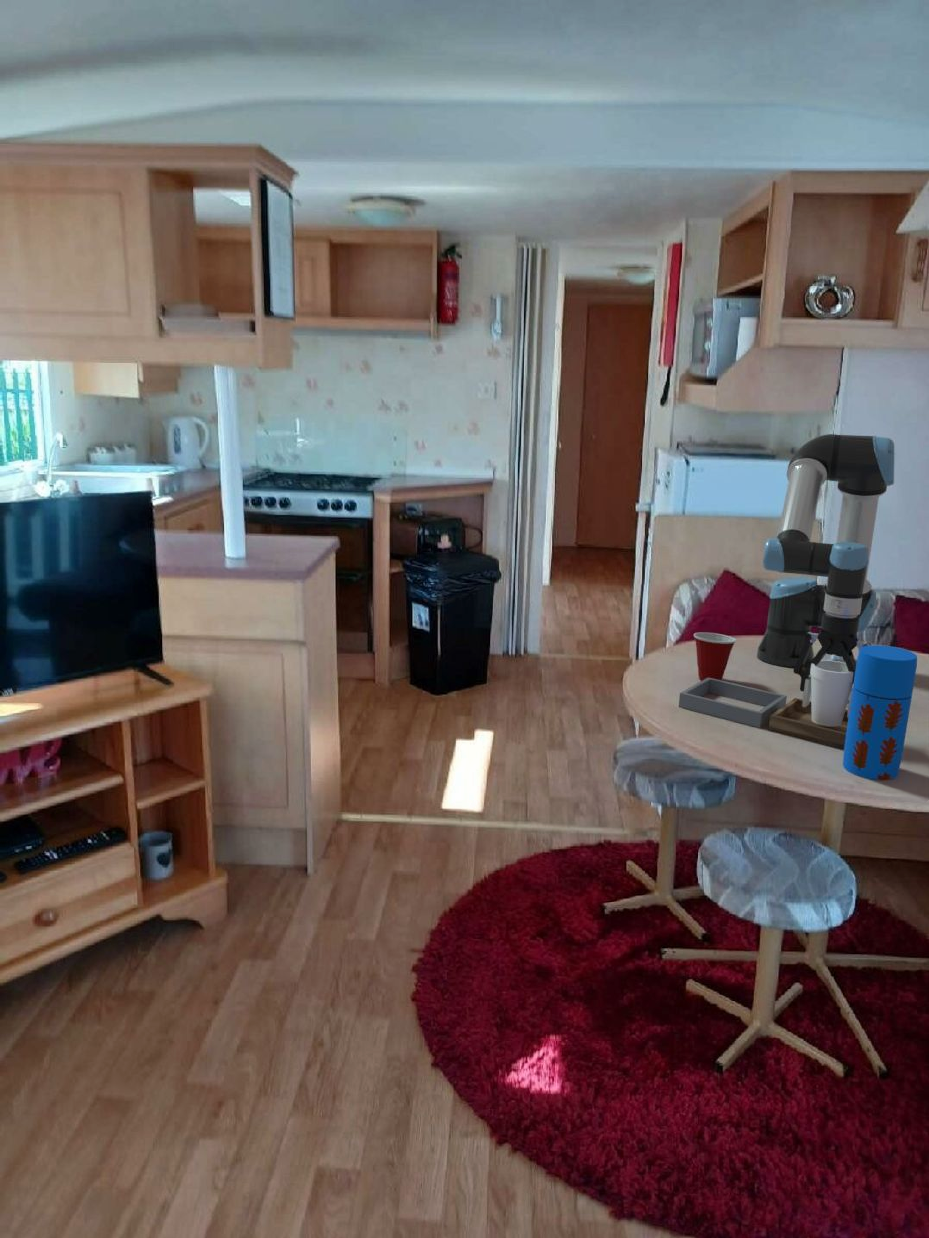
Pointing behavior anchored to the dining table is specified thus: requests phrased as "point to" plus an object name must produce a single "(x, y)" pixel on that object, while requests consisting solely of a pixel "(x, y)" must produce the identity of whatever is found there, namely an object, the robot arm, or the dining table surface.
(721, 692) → the bin
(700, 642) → the plastic cup
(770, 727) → the bin
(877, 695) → the thermos
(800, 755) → the dining table surface
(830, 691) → the foam cup
